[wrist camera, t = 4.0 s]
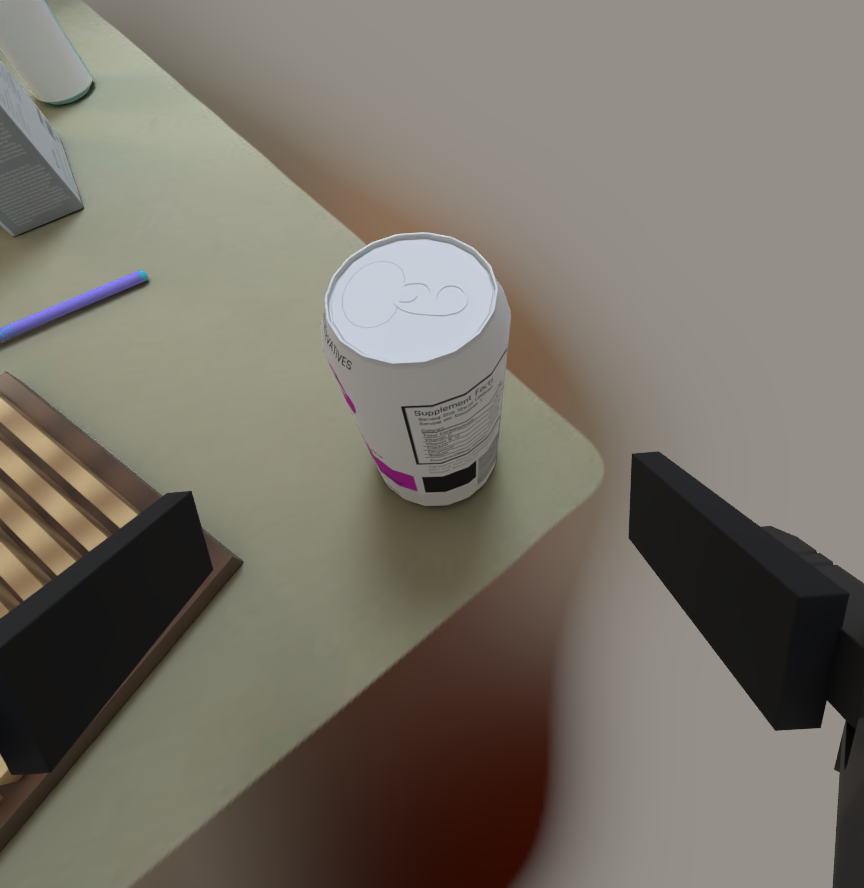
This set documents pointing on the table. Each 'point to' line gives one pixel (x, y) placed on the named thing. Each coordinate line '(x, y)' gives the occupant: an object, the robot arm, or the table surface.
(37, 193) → the hard drive box
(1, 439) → the scrub board
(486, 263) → the supplement can
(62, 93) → the can
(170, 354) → the table surface
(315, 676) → the table surface
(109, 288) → the spoon
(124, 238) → the table surface
